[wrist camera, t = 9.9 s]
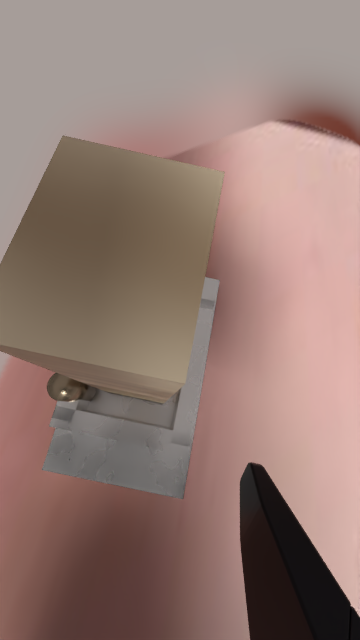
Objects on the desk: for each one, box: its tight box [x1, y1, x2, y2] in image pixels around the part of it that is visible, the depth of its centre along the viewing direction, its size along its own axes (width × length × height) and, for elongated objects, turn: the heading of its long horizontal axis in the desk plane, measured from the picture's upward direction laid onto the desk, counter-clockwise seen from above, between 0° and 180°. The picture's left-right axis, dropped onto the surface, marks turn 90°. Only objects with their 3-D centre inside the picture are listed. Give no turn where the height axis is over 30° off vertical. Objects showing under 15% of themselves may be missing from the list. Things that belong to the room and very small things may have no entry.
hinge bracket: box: [42, 277, 220, 499], centre depth 16 cm, size 14×8×5 cm, turn 169°
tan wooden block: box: [0, 136, 225, 404], centre depth 11 cm, size 4×4×13 cm
